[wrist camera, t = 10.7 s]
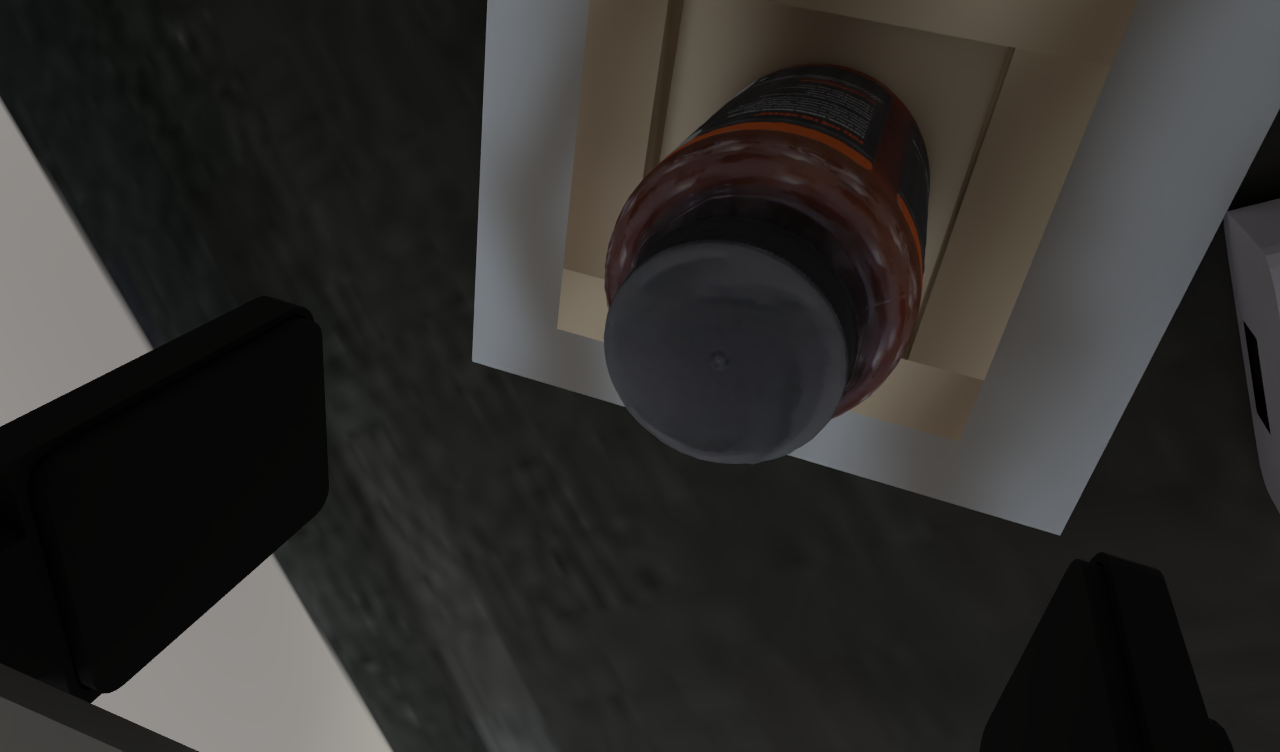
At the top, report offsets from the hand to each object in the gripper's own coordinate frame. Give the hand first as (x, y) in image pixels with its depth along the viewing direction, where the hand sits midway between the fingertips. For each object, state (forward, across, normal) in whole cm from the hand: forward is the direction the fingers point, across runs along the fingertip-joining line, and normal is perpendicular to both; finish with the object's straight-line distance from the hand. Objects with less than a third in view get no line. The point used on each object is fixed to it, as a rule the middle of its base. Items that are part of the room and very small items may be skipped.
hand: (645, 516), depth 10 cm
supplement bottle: (+15, 0, -1) cm, 15 cm away
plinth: (+19, +1, -1) cm, 19 cm away
